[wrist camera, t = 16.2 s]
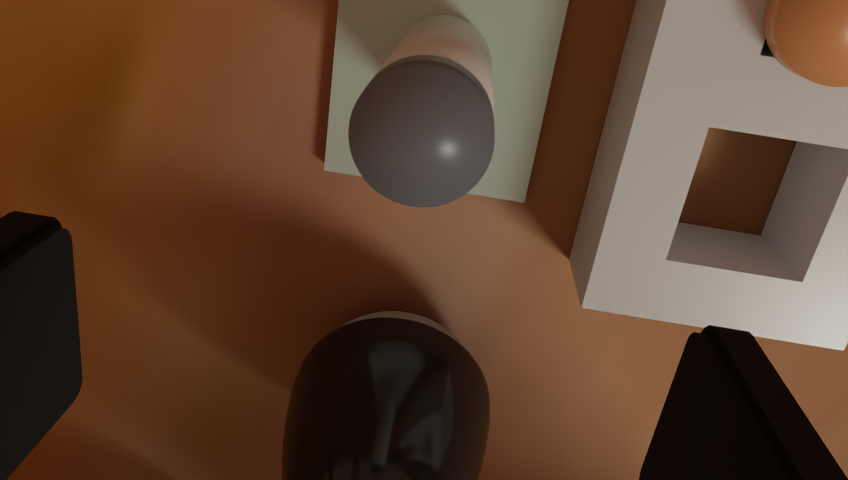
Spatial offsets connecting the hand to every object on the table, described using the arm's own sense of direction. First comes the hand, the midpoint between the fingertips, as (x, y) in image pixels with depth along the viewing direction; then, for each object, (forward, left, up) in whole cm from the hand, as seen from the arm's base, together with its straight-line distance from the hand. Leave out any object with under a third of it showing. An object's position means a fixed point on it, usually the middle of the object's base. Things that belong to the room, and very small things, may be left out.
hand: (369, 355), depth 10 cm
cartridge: (0, 0, -23) cm, 23 cm away
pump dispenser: (-17, 0, -24) cm, 30 cm away
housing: (0, -14, -24) cm, 28 cm away
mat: (0, 0, -24) cm, 24 cm away
